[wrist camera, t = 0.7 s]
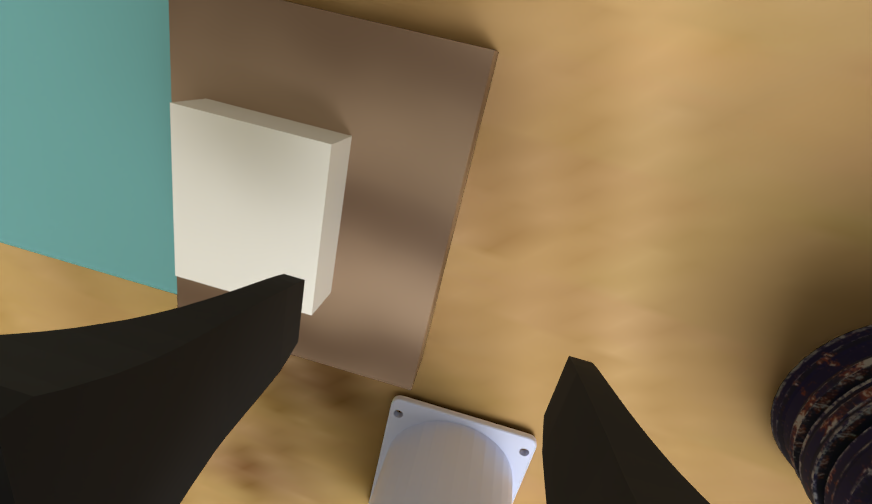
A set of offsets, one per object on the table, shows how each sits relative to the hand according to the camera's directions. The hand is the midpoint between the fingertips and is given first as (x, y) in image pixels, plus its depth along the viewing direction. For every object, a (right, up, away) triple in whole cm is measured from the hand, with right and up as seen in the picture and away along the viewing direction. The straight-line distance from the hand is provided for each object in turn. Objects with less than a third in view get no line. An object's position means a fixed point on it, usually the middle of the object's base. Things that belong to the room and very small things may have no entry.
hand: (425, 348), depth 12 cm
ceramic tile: (-7, +5, +7) cm, 11 cm away
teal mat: (-17, +9, +10) cm, 22 cm away
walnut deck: (-5, +5, +9) cm, 11 cm away
